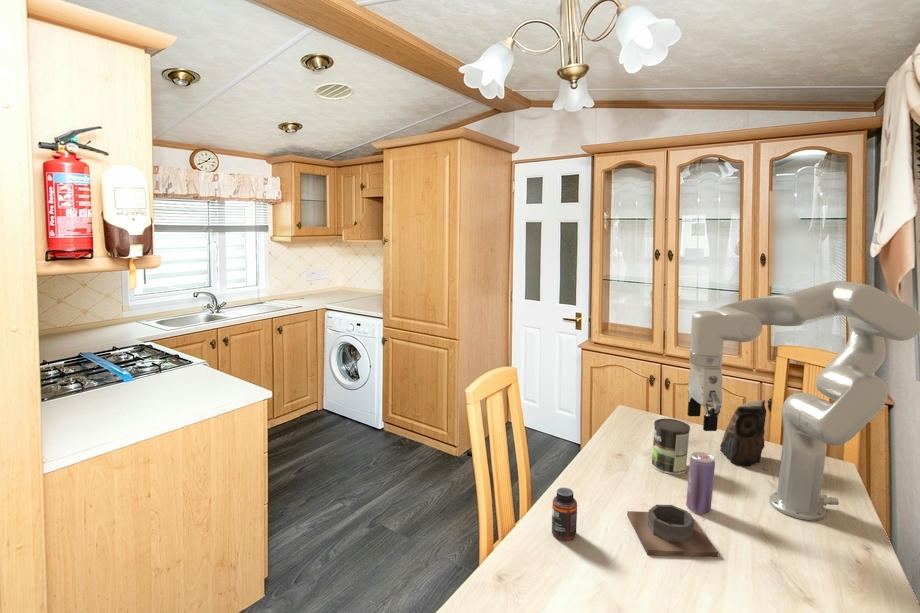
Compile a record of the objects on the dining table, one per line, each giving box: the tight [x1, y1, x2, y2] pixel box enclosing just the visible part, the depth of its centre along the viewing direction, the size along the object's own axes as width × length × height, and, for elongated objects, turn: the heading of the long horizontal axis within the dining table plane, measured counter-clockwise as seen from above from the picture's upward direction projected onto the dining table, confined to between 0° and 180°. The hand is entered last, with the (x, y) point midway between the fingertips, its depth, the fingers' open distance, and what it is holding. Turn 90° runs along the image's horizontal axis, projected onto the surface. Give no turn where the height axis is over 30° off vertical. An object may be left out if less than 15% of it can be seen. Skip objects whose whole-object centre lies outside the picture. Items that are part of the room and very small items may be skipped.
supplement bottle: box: [551, 487, 578, 541], centre depth 123 cm, size 6×6×11 cm
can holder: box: [626, 504, 719, 558], centre depth 123 cm, size 16×16×5 cm
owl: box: [719, 399, 767, 468], centre depth 162 cm, size 13×13×20 cm
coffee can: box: [650, 418, 691, 476], centre depth 158 cm, size 10×10×14 cm
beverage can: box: [685, 451, 716, 515], centre depth 134 cm, size 6×6×15 cm
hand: (701, 423), depth 131 cm, fingers open, 9 cm apart
